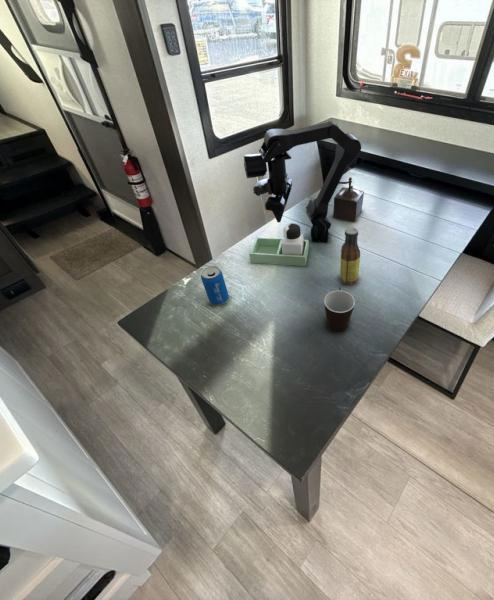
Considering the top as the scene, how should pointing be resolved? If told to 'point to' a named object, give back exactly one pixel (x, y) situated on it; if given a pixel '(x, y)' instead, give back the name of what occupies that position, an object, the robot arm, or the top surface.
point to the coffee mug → (338, 309)
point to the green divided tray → (275, 252)
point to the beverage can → (214, 285)
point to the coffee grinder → (348, 203)
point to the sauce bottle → (350, 257)
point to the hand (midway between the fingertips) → (281, 215)
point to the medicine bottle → (292, 240)
